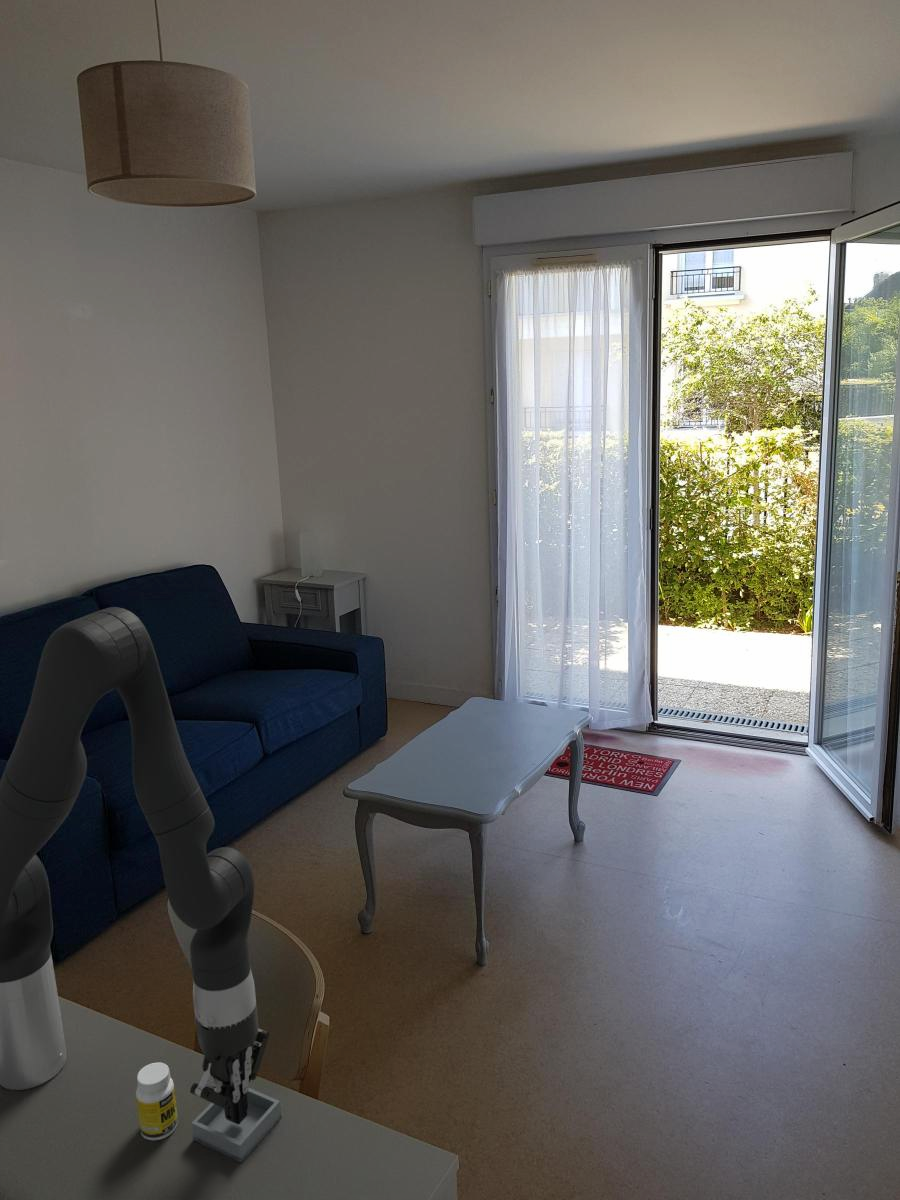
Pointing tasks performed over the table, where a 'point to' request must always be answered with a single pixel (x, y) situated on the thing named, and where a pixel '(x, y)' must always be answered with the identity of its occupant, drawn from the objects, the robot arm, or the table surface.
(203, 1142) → the tray
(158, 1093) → the supplement bottle
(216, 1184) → the table surface
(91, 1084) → the table surface
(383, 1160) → the table surface
